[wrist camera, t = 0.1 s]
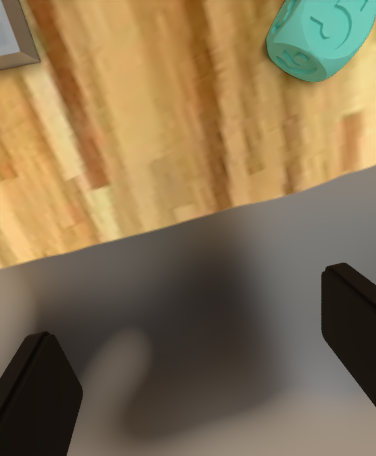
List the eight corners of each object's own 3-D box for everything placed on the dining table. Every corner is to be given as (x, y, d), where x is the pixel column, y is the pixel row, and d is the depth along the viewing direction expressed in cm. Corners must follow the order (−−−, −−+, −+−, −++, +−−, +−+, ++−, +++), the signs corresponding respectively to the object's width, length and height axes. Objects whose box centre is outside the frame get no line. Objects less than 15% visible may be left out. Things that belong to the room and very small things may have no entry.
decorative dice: (342, 23, 33) (394, -4, 26) (304, 86, 36) (342, 77, 28) (293, -17, 31) (335, -60, 24) (256, 52, 34) (284, 32, 26)
